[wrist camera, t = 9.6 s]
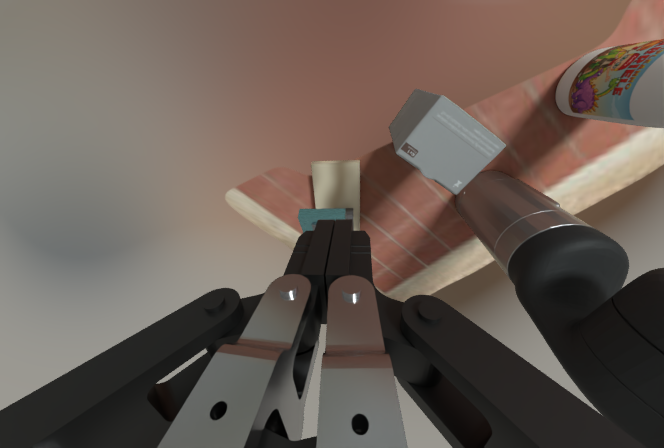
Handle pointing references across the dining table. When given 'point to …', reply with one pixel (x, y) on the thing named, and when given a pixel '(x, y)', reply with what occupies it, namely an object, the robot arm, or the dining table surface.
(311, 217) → the lever
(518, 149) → the dining table surface
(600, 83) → the milk bottle
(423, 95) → the skincare box
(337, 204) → the cracker base
